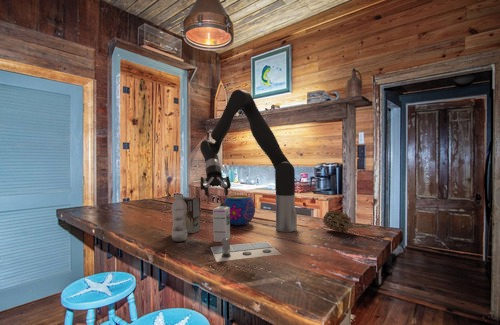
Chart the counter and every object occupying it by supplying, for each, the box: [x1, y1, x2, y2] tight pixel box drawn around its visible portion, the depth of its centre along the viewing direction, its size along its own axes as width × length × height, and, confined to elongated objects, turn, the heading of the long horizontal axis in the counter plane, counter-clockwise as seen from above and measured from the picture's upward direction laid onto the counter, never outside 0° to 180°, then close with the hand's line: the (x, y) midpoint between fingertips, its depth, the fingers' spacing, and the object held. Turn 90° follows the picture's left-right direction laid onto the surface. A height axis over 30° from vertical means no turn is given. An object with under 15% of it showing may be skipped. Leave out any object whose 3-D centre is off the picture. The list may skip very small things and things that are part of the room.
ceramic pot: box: [219, 194, 256, 226], centre depth 139 cm, size 18×18×15 cm
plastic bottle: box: [171, 193, 189, 243], centre depth 111 cm, size 6×7×20 cm
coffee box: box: [183, 196, 201, 234], centre depth 126 cm, size 9×6×16 cm
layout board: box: [209, 241, 282, 263], centre depth 96 cm, size 23×15×1 cm, turn 107°
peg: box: [221, 238, 231, 257], centre depth 90 cm, size 3×3×6 cm
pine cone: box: [322, 209, 371, 234], centre depth 121 cm, size 22×10×10 cm, turn 55°
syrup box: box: [212, 206, 231, 243], centre depth 109 cm, size 6×6×14 cm
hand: (217, 195), depth 120 cm, fingers open, 8 cm apart
